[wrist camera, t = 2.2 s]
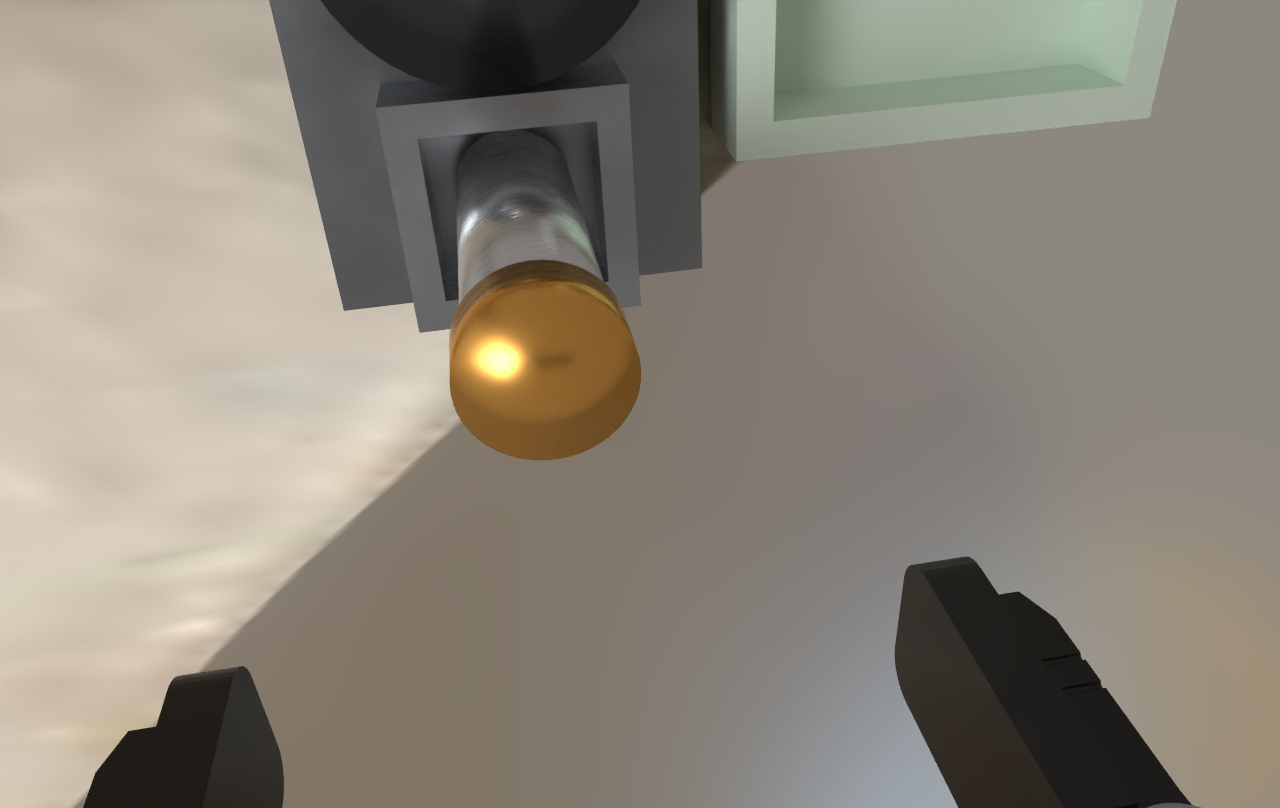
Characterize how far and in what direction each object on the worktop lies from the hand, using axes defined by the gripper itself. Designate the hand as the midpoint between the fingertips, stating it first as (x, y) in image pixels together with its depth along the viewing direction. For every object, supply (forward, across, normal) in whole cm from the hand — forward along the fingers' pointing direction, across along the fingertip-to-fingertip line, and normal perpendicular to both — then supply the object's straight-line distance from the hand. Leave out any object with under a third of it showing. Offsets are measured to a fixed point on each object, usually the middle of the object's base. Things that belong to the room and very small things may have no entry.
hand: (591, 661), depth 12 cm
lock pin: (+17, 0, 0) cm, 17 cm away
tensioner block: (+20, 0, -4) cm, 20 cm away
